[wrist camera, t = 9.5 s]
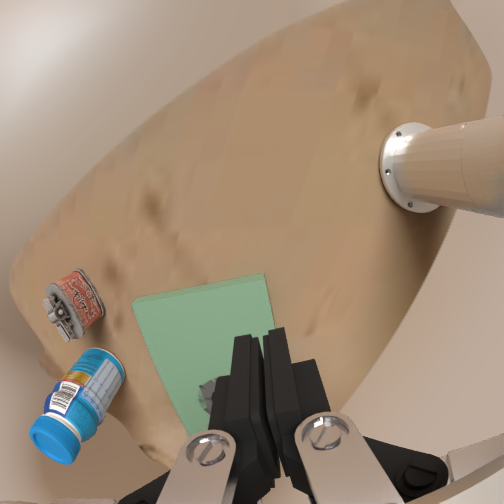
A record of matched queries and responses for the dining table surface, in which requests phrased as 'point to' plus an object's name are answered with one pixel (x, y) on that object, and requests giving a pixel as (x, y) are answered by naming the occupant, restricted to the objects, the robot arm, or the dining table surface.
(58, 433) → the beverage bottle
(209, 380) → the green board
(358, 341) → the dining table surface
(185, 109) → the dining table surface
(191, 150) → the dining table surface
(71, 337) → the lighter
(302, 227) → the dining table surface
